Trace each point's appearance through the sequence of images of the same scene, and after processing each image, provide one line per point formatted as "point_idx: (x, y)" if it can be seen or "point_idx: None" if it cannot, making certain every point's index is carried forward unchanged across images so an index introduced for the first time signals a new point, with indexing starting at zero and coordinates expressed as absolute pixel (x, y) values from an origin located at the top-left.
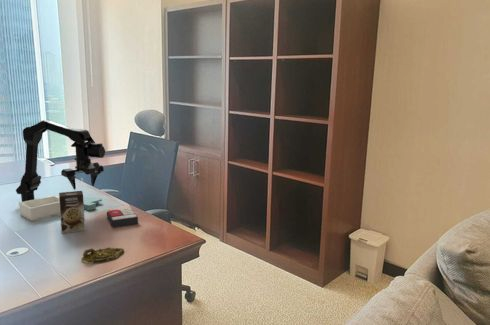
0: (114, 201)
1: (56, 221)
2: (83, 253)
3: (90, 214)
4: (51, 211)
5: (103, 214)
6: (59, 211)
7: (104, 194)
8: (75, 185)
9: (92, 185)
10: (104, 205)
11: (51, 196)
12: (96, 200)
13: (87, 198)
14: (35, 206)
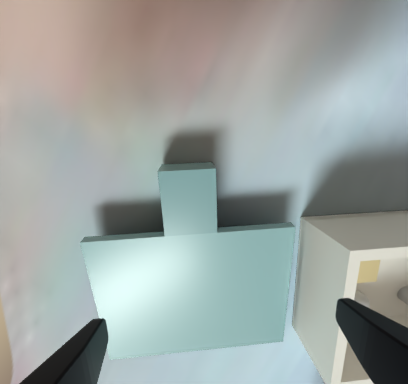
0: (11, 224)
1: (405, 124)
2: None
3: (232, 98)
4: (399, 221)
5: (174, 34)
6: (349, 220)
7: (18, 365)
8: (394, 337)
9: (104, 332)
10: (95, 195)
11: (351, 380)
12: (120, 243)
13: (141, 321)
14: None
